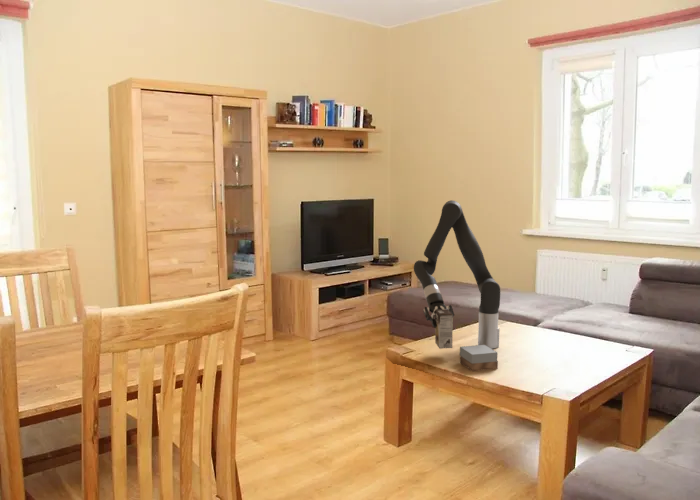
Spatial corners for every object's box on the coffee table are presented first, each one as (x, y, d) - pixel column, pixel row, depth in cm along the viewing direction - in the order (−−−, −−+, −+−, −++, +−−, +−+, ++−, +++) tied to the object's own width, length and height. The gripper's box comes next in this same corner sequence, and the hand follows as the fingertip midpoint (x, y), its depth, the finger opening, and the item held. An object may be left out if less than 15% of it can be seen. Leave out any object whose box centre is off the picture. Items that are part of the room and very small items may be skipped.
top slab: (484, 353, 280) (484, 344, 280) (497, 361, 269) (497, 352, 268) (459, 355, 277) (460, 346, 277) (471, 363, 266) (472, 354, 265)
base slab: (484, 361, 281) (484, 353, 281) (497, 369, 270) (497, 361, 269) (460, 363, 278) (460, 355, 277) (472, 372, 266) (472, 363, 266)
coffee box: (434, 343, 290) (434, 309, 287) (448, 342, 290) (448, 308, 288) (438, 348, 281) (438, 314, 278) (452, 348, 281) (452, 313, 279)
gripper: (421, 293, 290) (431, 323, 280) (449, 290, 293) (460, 320, 284) (417, 301, 295) (426, 331, 286) (445, 299, 299) (455, 329, 290)
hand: (443, 326), depth 285 cm, fingers closed on coffee box, 7 cm apart
